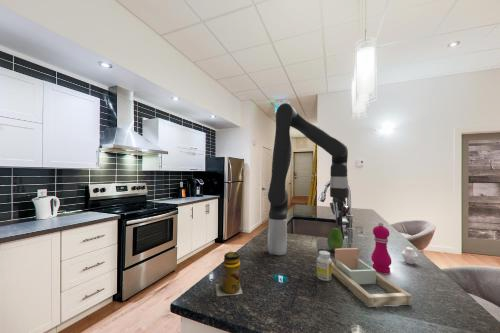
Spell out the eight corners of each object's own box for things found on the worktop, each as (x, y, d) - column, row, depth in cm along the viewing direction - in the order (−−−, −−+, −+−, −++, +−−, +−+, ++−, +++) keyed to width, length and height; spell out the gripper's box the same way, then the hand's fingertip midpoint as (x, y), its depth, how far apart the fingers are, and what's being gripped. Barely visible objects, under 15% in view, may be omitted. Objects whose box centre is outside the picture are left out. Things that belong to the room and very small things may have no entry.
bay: (368, 307, 62) (368, 297, 62) (328, 269, 87) (328, 262, 87) (411, 305, 64) (411, 295, 64) (359, 268, 89) (359, 260, 89)
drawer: (350, 284, 75) (350, 259, 75) (334, 270, 86) (334, 248, 86) (376, 283, 76) (375, 258, 76) (357, 269, 87) (357, 248, 87)
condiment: (242, 294, 69) (243, 257, 69) (217, 297, 67) (217, 259, 67) (238, 282, 76) (239, 249, 76) (215, 285, 74) (216, 251, 74)
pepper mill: (388, 267, 89) (388, 221, 90) (394, 275, 83) (393, 225, 83) (369, 265, 92) (369, 219, 92) (373, 272, 85) (373, 223, 86)
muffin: (402, 263, 94) (402, 248, 94) (400, 258, 99) (400, 244, 100) (420, 266, 91) (419, 250, 91) (416, 261, 96) (416, 246, 97)
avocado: (345, 253, 105) (345, 229, 105) (330, 253, 105) (330, 229, 106) (339, 247, 113) (339, 225, 113) (324, 247, 113) (324, 225, 114)
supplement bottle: (320, 281, 77) (320, 255, 78) (314, 274, 83) (314, 250, 83) (334, 280, 78) (334, 255, 78) (327, 274, 83) (327, 249, 84)
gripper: (324, 185, 99) (324, 222, 99) (338, 187, 86) (339, 229, 86) (338, 185, 100) (339, 222, 100) (355, 187, 87) (356, 229, 86)
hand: (339, 225), depth 93 cm, fingers closed
